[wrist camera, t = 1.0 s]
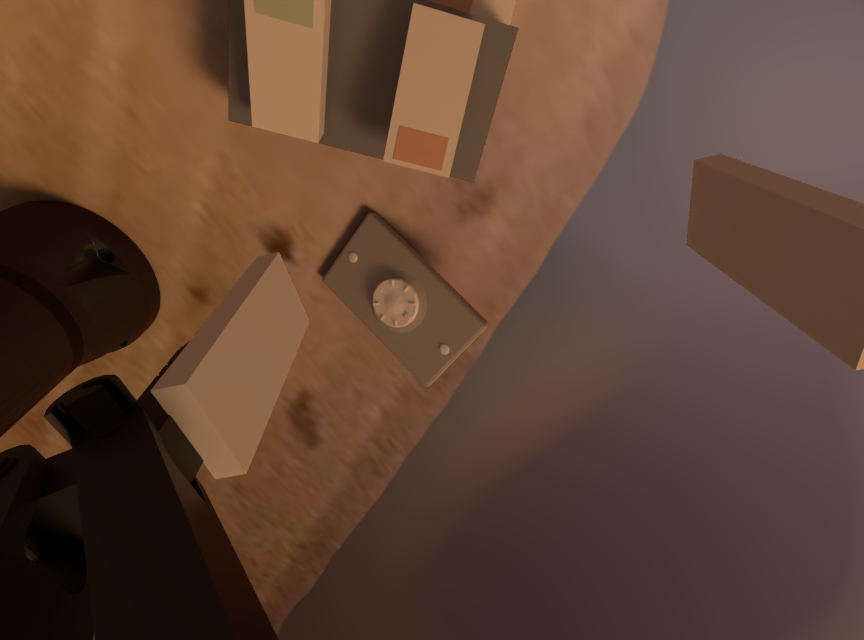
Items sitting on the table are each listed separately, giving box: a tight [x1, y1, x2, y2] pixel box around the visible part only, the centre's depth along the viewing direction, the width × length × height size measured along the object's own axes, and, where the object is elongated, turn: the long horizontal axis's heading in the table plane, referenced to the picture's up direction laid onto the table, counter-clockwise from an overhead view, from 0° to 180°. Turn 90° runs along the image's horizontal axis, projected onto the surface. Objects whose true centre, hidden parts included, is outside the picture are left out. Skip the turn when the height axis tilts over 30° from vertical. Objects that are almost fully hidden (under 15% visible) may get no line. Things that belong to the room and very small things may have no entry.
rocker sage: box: [244, 0, 331, 143], centre depth 27 cm, size 4×9×2 cm, turn 166°
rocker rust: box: [383, 3, 485, 178], centre depth 28 cm, size 4×9×2 cm, turn 166°
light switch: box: [322, 212, 488, 387], centre depth 41 cm, size 8×6×14 cm
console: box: [229, 0, 518, 182], centre depth 30 cm, size 18×13×6 cm
